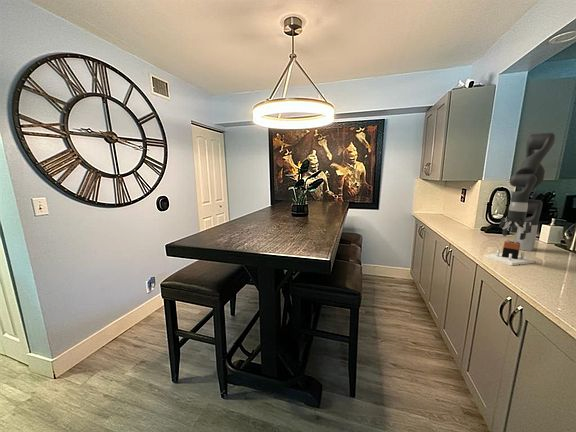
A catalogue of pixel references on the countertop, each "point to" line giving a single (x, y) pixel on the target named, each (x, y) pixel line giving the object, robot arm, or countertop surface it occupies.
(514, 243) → the battery
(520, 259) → the pin dock
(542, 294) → the countertop surface
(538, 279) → the countertop surface
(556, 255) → the countertop surface
